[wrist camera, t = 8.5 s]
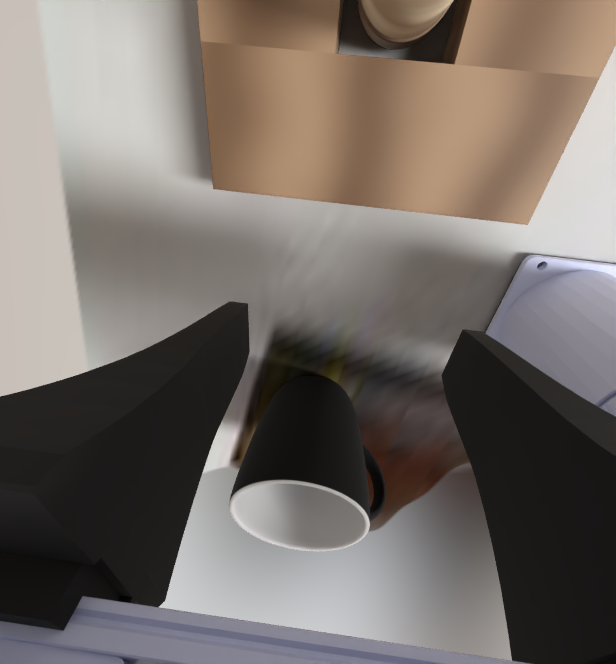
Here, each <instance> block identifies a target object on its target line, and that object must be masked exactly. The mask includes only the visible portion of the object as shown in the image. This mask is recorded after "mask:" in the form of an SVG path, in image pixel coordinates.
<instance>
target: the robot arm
mask: <svg viewBox="0 0 616 664" xmlns="http://www.w3.org/2000/svg"><path fill="white" fill-rule="evenodd" d="M541 262H544V263H543V265H542V266H540V267H537V265H538V264H539V263H541ZM248 355H249V322H248V304H246V303H238V302H228V303H226V304H225V305H223V306H221V307H220V308H218V309H216V310H215V311H213V312H211V313H210V314H208V315H207V316H205V317H203V318H202V319H200V320H198V321H197V322H195V323H193V324H192V325H190V326H188V327H187V328H185V329H183V330H181V331H179V332H177V333H176V334H174V335H172V336H170V337H168V338H166V339H165V340H163V341H161V342H159V343H157V344H155V345H153V346H151V347H148V348H146V349H144V350H142V351H140V352H137V353H135V354H133V355H130V356H128V357H126V358H123V359H121V360H118V361H115V362H113V363H110V364H107V365H104V366H102V367H99V368H96V369H93V370H91V371H88V372H85V373H82V374H79V375H76V376H73V377H70V378H67V379H64V380H60V381H57V382H54V383H50V384H47V385H43V386H39V387H36V388H33V389H29V390H25V391H21V392H17V393H14V394H9V395H5V396H1V397H0V664H616V264H610V263H601V262H593V261H585V260H576V259H568V258H559V257H551V256H542V255H530V256H527V257H526V258H525V259H524V260H523V261H522V263H521V265H520V267H519V269H518V271H517V273H516V275H515V276H514V278H513V280H512V282H511V284H510V286H509V288H508V290H507V292H506V294H505V296H504V298H503V300H502V302H501V304H500V306H499V308H498V310H497V311H496V313H495V315H494V317H493V319H492V321H491V323H490V325H489V327H488V329H487V331H486V333H483V332H479V331H471V330H462V332H461V334H460V337H459V339H458V341H457V343H456V345H455V347H454V350H453V352H452V354H451V356H450V358H449V360H448V363H447V365H446V367H445V369H444V371H443V373H442V380H443V385H444V390H445V395H446V399H447V403H448V405H449V408H450V411H451V413H452V416H453V419H454V421H455V424H456V427H457V429H458V432H459V434H460V437H461V440H462V442H463V445H464V447H465V450H466V453H467V455H468V458H469V460H470V463H471V466H472V469H473V472H474V475H475V478H476V481H477V485H478V489H479V493H480V496H481V500H482V504H483V507H484V511H485V516H486V520H487V524H488V528H489V533H490V537H491V541H492V545H493V551H494V555H495V561H496V566H497V571H498V575H499V581H500V585H501V590H502V597H503V603H504V610H505V615H506V621H507V628H508V634H509V641H510V649H511V656H512V661H510V660H503V659H497V658H491V657H483V656H477V655H470V654H464V653H457V652H450V651H444V650H437V649H431V648H424V647H417V646H410V645H404V644H398V643H390V642H384V641H377V640H371V639H364V638H357V637H351V636H344V635H338V634H331V633H325V632H318V631H311V630H305V629H298V628H291V627H284V626H277V625H271V624H265V623H258V622H251V621H244V620H238V619H231V618H225V617H218V616H211V615H205V614H198V613H191V612H185V611H179V610H172V609H165V608H159V606H160V605H161V604H162V603H163V602H164V601H165V599H166V595H167V591H168V587H169V584H170V580H171V576H172V573H173V569H174V565H175V562H176V558H177V555H178V551H179V547H180V544H181V540H182V537H183V533H184V530H185V527H186V524H187V520H188V517H189V513H190V509H191V507H192V503H193V500H194V497H195V494H196V491H197V488H198V484H199V481H200V478H201V475H202V472H203V469H204V466H205V463H206V460H207V457H208V454H209V451H210V448H211V445H212V442H213V440H214V438H215V435H216V433H217V430H218V428H219V426H220V424H221V421H222V419H223V417H224V415H225V413H226V410H227V408H228V406H229V404H230V402H231V400H232V397H233V395H234V393H235V391H236V389H237V386H238V384H239V382H240V380H241V377H242V375H243V372H244V368H245V365H246V362H247V358H248Z"/></svg>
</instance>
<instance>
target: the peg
mask: <svg viewBox="0 0 616 664" xmlns="http://www.w3.org/2000/svg"><path fill="white" fill-rule="evenodd" d="M453 1H454V0H358V8H359V14H360V18H361V21H362V24H363V26H364V28H365V30H366V32H367V34H368V35H369V36H370V38H371V39H372V40H373V41H374V42H375V43H377V44H378V45H380V46H382V47H384V48H387V49H393V50H397V49H403V48H407V47H409V46H411V45H413V44H415V43H417V42H418V41H419V40H421V39H422V38H423V37H424V36H425V35H426V34H427V33H428V32H429V31H430V30H431V29H432V28H433V27H434V26H435V25H436V24H437V23H438V22H439V21H440V19H441V18H442V17H443V16H444V14H445V13H446V12H447V10H448V9H449V7H450V5H451V4H452V2H453Z"/></svg>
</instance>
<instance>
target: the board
mask: <svg viewBox="0 0 616 664" xmlns="http://www.w3.org/2000/svg"><path fill="white" fill-rule="evenodd" d="M343 2H344V0H197V5H198V17H199V29H200V40H201V52H202V63H203V75H204V86H205V98H206V110H207V121H208V133H209V144H210V156H211V167H212V179H213V189H218V190H227V191H236V192H244V193H253V194H262V195H271V196H279V197H288V198H297V199H306V200H315V201H323V202H332V203H341V204H350V205H358V206H367V207H376V208H385V209H393V210H402V211H411V212H420V213H428V214H437V215H446V216H455V217H464V218H472V219H481V220H490V221H499V222H507V223H516V224H525V225H528V223H529V221H530V219H531V217H532V215H533V213H534V211H535V209H536V207H537V205H538V203H539V201H540V199H541V197H542V194H543V192H544V190H545V188H546V186H547V184H548V182H549V180H550V178H551V176H552V174H553V172H554V170H555V168H556V166H557V164H558V162H559V160H560V158H561V156H562V154H563V152H564V150H565V147H566V145H567V143H568V141H569V139H570V137H571V135H572V133H573V131H574V129H575V127H576V125H577V123H578V121H579V119H580V117H581V115H582V113H583V111H584V109H585V107H586V105H587V103H588V100H589V98H590V96H591V94H592V92H593V90H594V88H595V86H596V84H597V82H598V80H599V78H600V76H601V74H602V72H603V70H604V68H605V66H606V64H607V62H608V60H609V58H610V55H611V53H612V51H613V49H614V47H615V45H616V0H458V1H457V5H456V8H455V12H454V16H453V20H452V24H451V28H450V32H449V36H448V40H447V44H446V48H445V52H444V56H443V60H442V63H433V62H422V61H411V60H400V59H389V58H379V57H368V56H357V55H346V54H338V49H339V40H340V30H341V21H342V11H343Z"/></svg>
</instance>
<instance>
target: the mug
mask: <svg viewBox="0 0 616 664" xmlns="http://www.w3.org/2000/svg"><path fill="white" fill-rule="evenodd" d="M366 468H367V470H368V472H369V474H370V477H371V480H372V483H373V489H374V499H373V503H372V505H371V507H370V504H369V492H368V482H367V473H366ZM385 497H386V489H385V482H384V478H383V475H382V472H381V469H380V467H379V465H378V463H377V462H376V460H375V458H374V457H373V455H372V454H371V453H370V452H369V450H368V449H367V448H366V447H365V446H364V445H363V444H362V439H361V434H360V429H359V425H358V421H357V417H356V413H355V410H354V407H353V405H352V402H351V400H350V398H349V397H348V395H347V394H346V392H345V391H344V390H343V389H342V388H341V387H340V386H339V385H338V384H336V383H335V382H333V381H331V380H329V379H327V378H323V377H319V376H301V377H297V378H294V379H292V380H290V381H288V382H287V383H285V384H284V385H283V386H282V387H281V388H280V389H279V390H278V391H277V392H276V393H275V395H274V396H273V398H272V399H271V401H270V402H269V404H268V406H267V408H266V409H265V411H264V413H263V415H262V417H261V419H260V421H259V423H258V426H257V428H256V430H255V432H254V435H253V437H252V439H251V442H250V444H249V447H248V449H247V452H246V454H245V457H244V459H243V462H242V464H241V467H240V470H239V472H238V475H237V478H236V481H235V484H234V487H233V490H232V494H231V497H230V503H229V509H230V513H231V515H232V517H233V519H234V520H235V521H236V523H237V524H238V525H239V526H240V527H241V528H243V529H244V530H245V531H247V532H248V533H250V534H251V535H253V536H255V537H257V538H259V539H261V540H263V541H266V542H269V543H271V544H274V545H278V546H281V547H286V548H291V549H296V550H304V551H330V550H337V549H342V548H345V547H349V546H351V545H353V544H355V543H357V542H359V541H360V540H361V539H363V537H364V536H365V535H366V534H367V532H368V530H369V527H370V521H371V520H373V519H375V518H376V517H377V516H378V515H379V514H380V512H381V511H382V509H383V507H384V503H385Z"/></svg>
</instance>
